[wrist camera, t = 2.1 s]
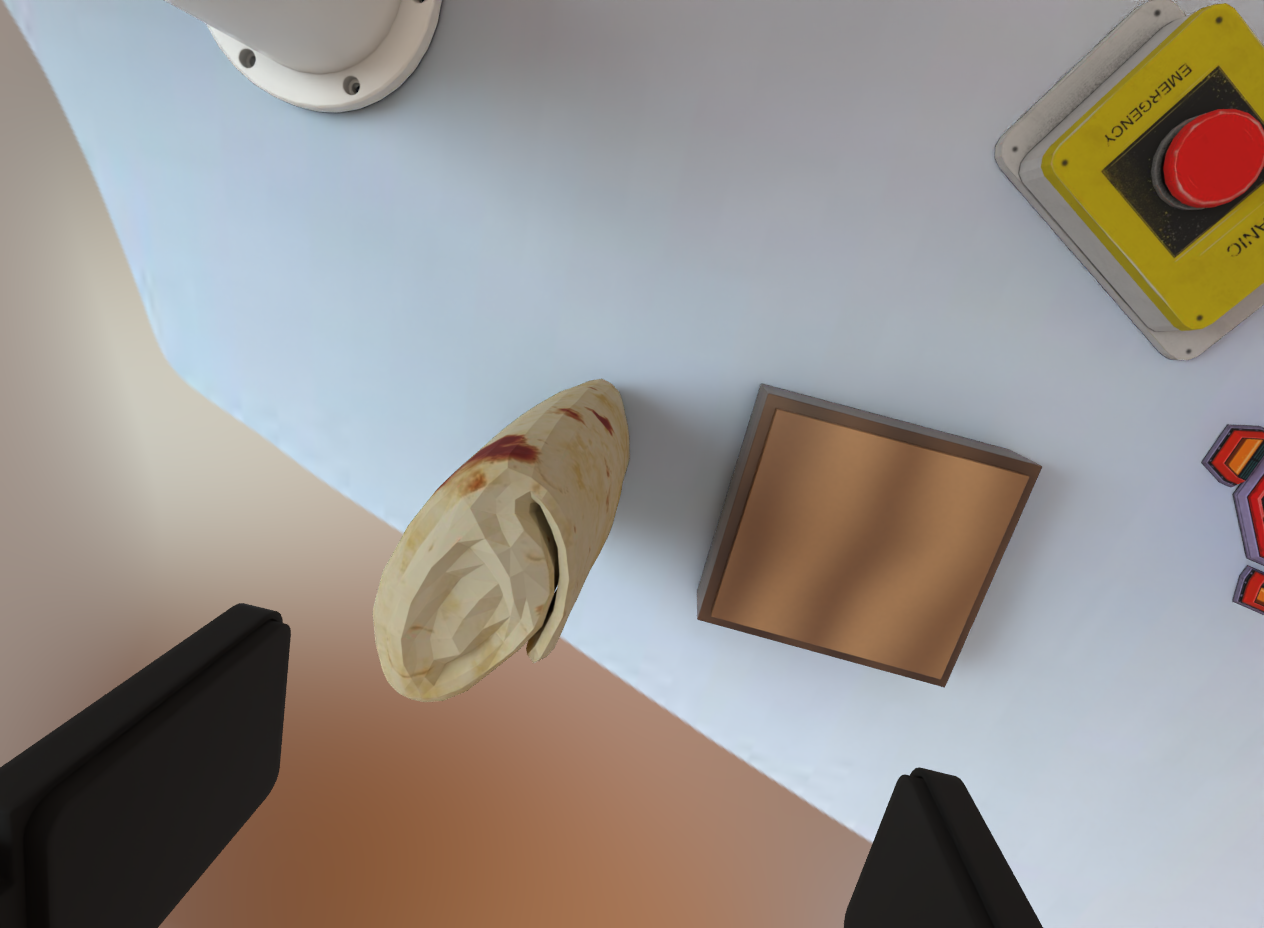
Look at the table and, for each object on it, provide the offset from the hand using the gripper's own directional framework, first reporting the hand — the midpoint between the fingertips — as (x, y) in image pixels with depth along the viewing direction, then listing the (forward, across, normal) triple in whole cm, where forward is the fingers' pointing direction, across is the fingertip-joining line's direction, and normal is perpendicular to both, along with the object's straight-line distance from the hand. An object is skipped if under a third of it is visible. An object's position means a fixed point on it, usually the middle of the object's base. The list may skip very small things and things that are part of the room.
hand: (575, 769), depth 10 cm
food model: (+29, +4, +3) cm, 29 cm away
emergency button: (+29, -21, -16) cm, 39 cm away
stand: (+28, -12, +4) cm, 31 cm away
